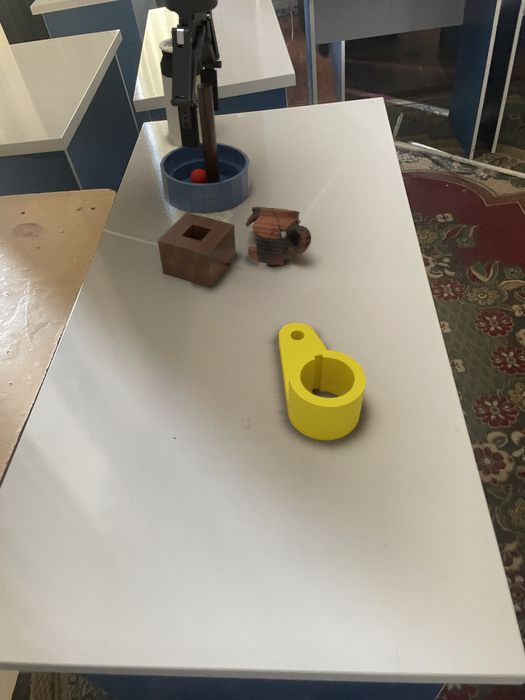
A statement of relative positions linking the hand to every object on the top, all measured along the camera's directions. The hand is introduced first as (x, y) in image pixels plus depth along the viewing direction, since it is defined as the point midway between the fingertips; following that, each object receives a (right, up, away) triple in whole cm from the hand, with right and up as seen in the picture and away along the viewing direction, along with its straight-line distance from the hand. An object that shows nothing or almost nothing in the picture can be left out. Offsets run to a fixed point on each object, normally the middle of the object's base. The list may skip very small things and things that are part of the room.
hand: (201, 127), depth 93 cm
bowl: (0, -8, +9) cm, 12 cm away
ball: (-2, -7, +9) cm, 11 cm away
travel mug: (-5, +7, +24) cm, 26 cm away
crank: (+16, -40, -23) cm, 49 cm away
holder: (0, -23, -6) cm, 24 cm away
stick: (+1, -8, +8) cm, 11 cm away
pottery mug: (+12, -21, -3) cm, 25 cm away
